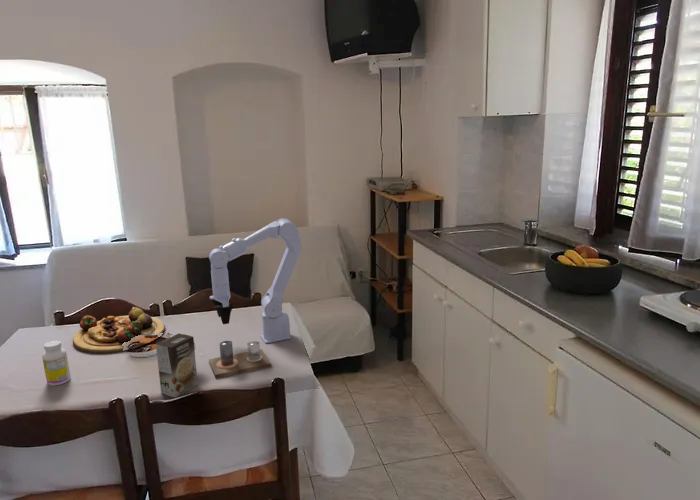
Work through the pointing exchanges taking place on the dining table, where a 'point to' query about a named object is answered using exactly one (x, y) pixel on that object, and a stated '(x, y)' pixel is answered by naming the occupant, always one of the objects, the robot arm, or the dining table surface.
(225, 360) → the steel pin
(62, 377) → the supplement bottle
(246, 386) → the dining table surface
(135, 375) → the dining table surface
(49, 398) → the dining table surface
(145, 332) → the wooden plate with food
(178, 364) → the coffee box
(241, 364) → the board
